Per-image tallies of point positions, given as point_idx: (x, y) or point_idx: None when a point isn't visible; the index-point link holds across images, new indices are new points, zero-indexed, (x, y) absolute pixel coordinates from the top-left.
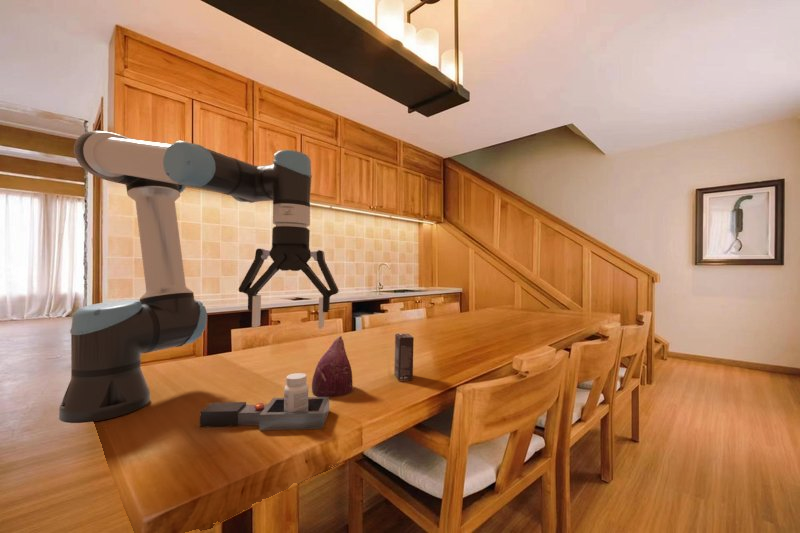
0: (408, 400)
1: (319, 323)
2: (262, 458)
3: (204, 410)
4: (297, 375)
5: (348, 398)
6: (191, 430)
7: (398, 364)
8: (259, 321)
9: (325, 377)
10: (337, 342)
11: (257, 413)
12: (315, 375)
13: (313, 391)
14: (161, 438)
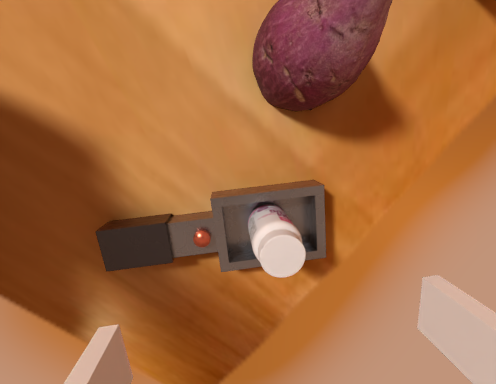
0: (461, 121)
1: (442, 347)
2: (259, 320)
3: (110, 265)
4: (285, 254)
5: (343, 116)
6: None
7: None
8: (111, 355)
9: (304, 98)
10: None
11: (208, 252)
12: (273, 80)
13: (263, 94)
14: (86, 292)
